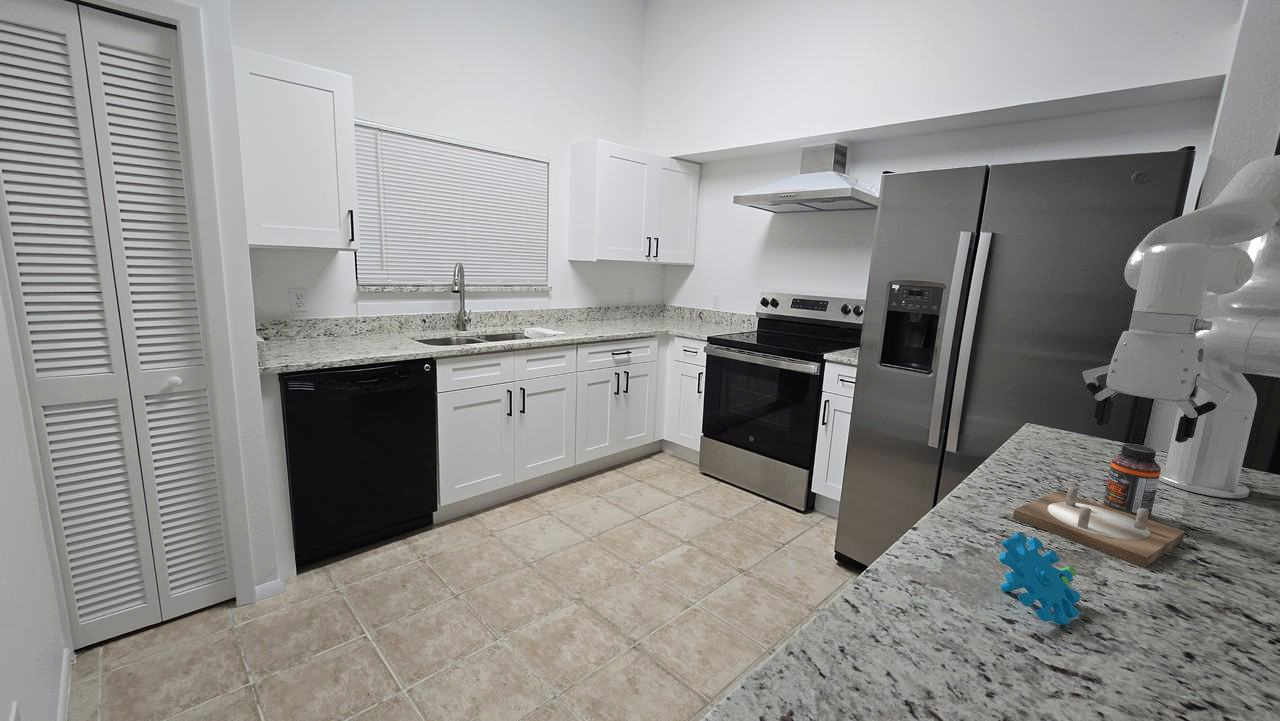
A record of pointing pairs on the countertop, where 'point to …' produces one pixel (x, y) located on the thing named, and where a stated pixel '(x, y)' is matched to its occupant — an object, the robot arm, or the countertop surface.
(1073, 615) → the gear
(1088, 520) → the pin board
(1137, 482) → the supplement bottle
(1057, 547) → the countertop surface
